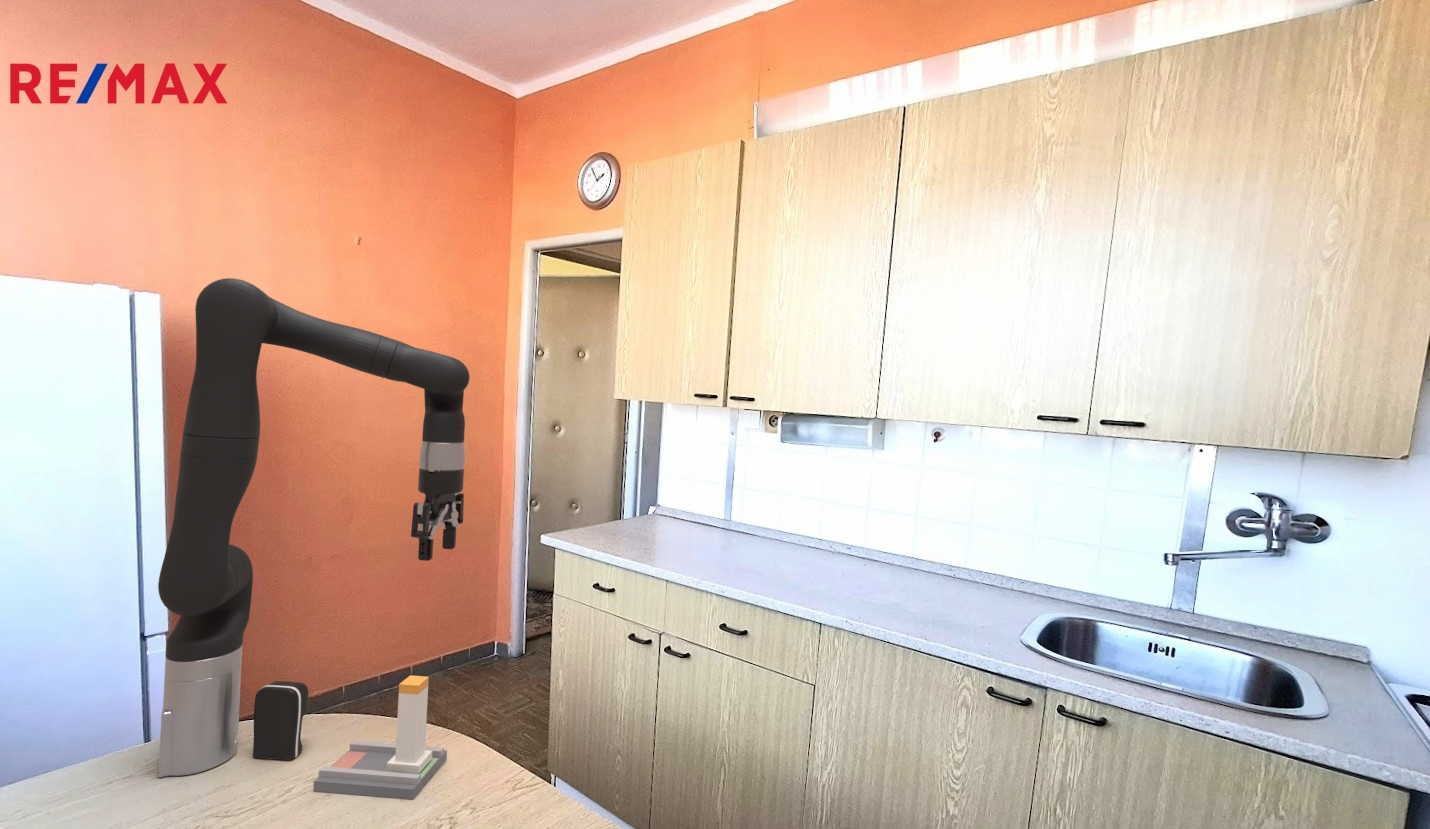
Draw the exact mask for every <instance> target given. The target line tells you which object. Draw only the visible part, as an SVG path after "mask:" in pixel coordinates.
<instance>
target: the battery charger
mask: <svg viewBox="0 0 1430 829" xmlns="http://www.w3.org/2000/svg"><path fill="white" fill-rule="evenodd" d="M309 692H310V691H309V687H308V685H306V684H305V683H304V682H298V681H289V680H277V681H272V682H270V683H268V684H267V685H264V686H262V687H261V688H260V689H259V690H257V692H256V694H255V698H254V706H253V707H254V708H253V743H252V744H253V746H252V748H253V749H252V757H253V758H258V759H266V760H282V761H283V760H285V761H286V760H293V759H296V758H297V757H298V755H299V754H301V752H302V751H303V744H302V741H301V737H302V736H301V733H302V725H303V718H304V716H306V715H307V714H308V712H309V703H310V702H309V701H310V700H309V698H310V697H309V695H310V694H309Z"/></svg>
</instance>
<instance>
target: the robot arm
mask: <svg viewBox="0 0 1430 829" xmlns="http://www.w3.org/2000/svg"><path fill="white" fill-rule="evenodd" d="M194 309H195V346H196V347H195V348H196V350H195V354H196V355H195V366H194V373H193V374H194V375H193V378H192V379H193V380H192V382H191V388H190V392H189V397H188V402H187V407H186V414H185V419H184V424H183V431H182V438H181V439H182V440H181V447H180V456H179V467H178V478H177V484H176V485H177V486H176V493H175V502H174V513H173V520H172V526H171V529H170V534H169V538H168V542H167V544H166V545H167V546H166V550H165V553H164V557H163V561H162V563H161V568H160V571H159V578H158V584H157V588H158V595H159V598H160V600H161V603H162V604H163V605H164V607H165V608H166V609H167V610H168V611H170V612H171V613H173V614H175V615H179V619H178V621H177V624H176V625H175V627H174V629H173V630H172V632H171V633H170V635H169V636H168V638H167V640H166V644H165V658H164V659H165V661H164V662H165V663H164V680H163V681H164V683H163V699H162V703H163V704H162V710H161V716H160V719H161V720H160V735H159V736H160V737H159V738H160V739H159V752H158V753H159V754H158V755H159V758H158V773H157V774H158V776H157V777H158V778H163V777H168V776H172V777H174V776H176V777H177V776H178V777H179V776H186V775H187V776H188V775H194V774H197V773H201V772H204V771H208V770H210V769H213V768H215V767H218V766H220V765H221V764H224V763H226V762H227V761H228V760H230V759H231V758H232V757H234V755H235V754H236V753H237V752H238V744H239V743H238V741H239V718H240V702H241V699H240V698H241V682H242V680H241V679H242V663H243V662H242V660H243V642H244V633H245V631H246V629H247V627H248V623H249V620H250V616H251V615H250V613H251V604H252V595H253V584H254V583H253V582H254V570H253V564H252V562H251V559H250V557H249V555H248V554H247V553H246V551H245V550H243V549H242V548H240V547H238V546H236V545H234V544H230V538H231V531H232V526H233V522H234V518H235V516H236V512H237V510H238V508H239V506H240V504H241V502H242V499H243V498H244V496H245V493H246V491H247V489H248V487H249V485H250V483H251V481H252V477H253V475H254V472H255V470H256V464H257V460H258V453H259V452H258V451H259V446H260V436H261V414H260V411H261V410H260V400H259V393H258V382H257V378H258V377H257V372H258V365H259V359H260V355H261V350H262V346H263V344H265V345H272V346H278V347H284V348H288V349H290V350H291V349H292V350H296V351H300V352H304V353H307V354H311V355H313V356H317V357H319V358H323V359H325V360H328V361H331V362H334V363H337V364H339V365H342V366H345V367H347V368H350V369H353V370H356V371H359V372H363V373H366V374H369V375H372V376H374V377H375V376H376V377H379V378H382V379H385V380H389V381H393V382H399V383H400V382H401V383H406V384H408V385H411V386H414V387H418V388H421V389H424V397H423V398H424V416H423V422H422V423H423V424H422V435H421V436H422V437H421V438H422V439H421V440H422V441H421V446H420V447H421V448H420V452H419V461H418V462H419V463H418V464H419V466H418V481H417V482H418V484H417V491H418V492H419V493H421V494H424V495H425V498H424V501H423V502H414V503H413V507H412V508H413V509H412V510H413V511H412V519H411V533H410V537H411V538H416V539H418V551H417V552H418V556H417V559H418V560H420V561H424V562H425V561H427V562H428V561H431V560H433V556H434V555H433V552H434V539H433V538H434V536H435V533H436V531H437V529H440V527H441V525H442V527H443V529H442V530H443V531H442V545H441V546H442V549H444V550H453V549H455V548H456V543H457V542H456V541H457V529H459V525H462V524H463V522H464V510H465V509H464V507H465V506H464V504H465V503H464V500H465V495H464V493H462V492H463V491H464V477H465V476H464V475H465V474H464V473H465V458H466V457H465V456H466V455H465V454H466V450H465V429H466V421H465V415H464V410H463V408H464V396H465V395H464V393H465V390H466V388H467V387H468V386H469V383H470V372H469V370H468V368H467V366H466V365H465V363H463V362H462V361H461V360H459V359H457V358H455V357H452V356H449V355H446V354H442V353H439V352H435V351H431V350H427V349H424V348H420V347H419V348H418V347H415V346H412V345H410V344H407V343H406V342H403V341H399V340H397V339H394V338H391V337H388V336H384V335H382V334H380V333H379V334H378V333H376V332H373V331H368V330H367V329H366V330H365V329H362V328H357V327H354V326H350V325H345V324H341V323H337V322H333V321H329V320H326V319H322V318H319V317H317V316H313V315H310V314H308V313H305V312H303V311H299V310H298V309H295V308H292V307H291V306H290V305H286V304H285V303H283V302H280V301H278V300H276V299H274V298H272V297H270V296H269V295H268V294H267V293H265V292H264V291H263V290H261V288H259V287H258V286H256V285H254V284H252V283H251V282H249V281H246V280H244V279H239V278H233V277H232V278H231V277H228V278H227V277H226V278H221V279H217V280H214V281H212V282H211V283H209V284H208V285H206V286H205V287H204V288H202V290H201V291H200V292H199V294H198V296H197V297H196V302H195V308H194Z"/></svg>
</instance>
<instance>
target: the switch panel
mask: <svg viewBox="0 0 1430 829" xmlns="http://www.w3.org/2000/svg"><path fill="white" fill-rule="evenodd" d="M425 750H429V751H433V753H432V759H431V760H430V761H429V762H428V764H427V765H426V766H425V767H424V768H423V769H422V770H421V772H420V773H419V774H416V773H404V772H391V771H386V768H387V762H388V761H389V760H390V759H391V758H392V757H393V756H395V754H396V743H389V742H388V743H387V742H375V741H365V740H364V741H363V740H352V741H351V743H349V750H347V751H346V753H345V754H343V755H342V756H341V757H340V758H339V759H338V760H336V762H334V763H332V764H331V766H322V767H321V768H319V770H318V777H317V778H315V779H314V780H313V789H312V791H313V792H319V793H329V792H330V793H332V794H340V793H342V794H341V795H353V796H354V795H355V796H364V797H365V796H366V797H379V798H388V799H389V798H391V799H400V800H414V799H415V798H416V796H418V794H419V793H420V791H422V790H423V788H424V787H426V785H427V783H428V782H429V781H430V780H431V779H432V778H433V776H434V775H435V774H436V773H437V771H438V770H439V769H440V768H441V767H442V766H443V765H444V763H445V762H446V761H447V758H448V757H447V756H448V754H447V753H448V750H445V747H440V746H438V747H436V746H427V745H425Z"/></svg>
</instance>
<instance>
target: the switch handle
mask: <svg viewBox="0 0 1430 829" xmlns="http://www.w3.org/2000/svg"><path fill="white" fill-rule="evenodd" d="M429 679H430V678H429V676H423V675H422V676H421V675H409V676H408V677H406V678H405V679H404V680H403V681H401V682H400V683H399V685H398V700H397V701H398V703H397V718H396V719H397V720H396V738H395V740H396V741H395V744H396V754H395V756H393V757H392V758H391V759H390V760H389V761H388V762H387V768H386V771H391V772H404V773H416V774H419V773H420V772H421V770H422V769H423V768H424V767H425V766H426V765H427V764H428V762H429V761H430V760H431V759H432V753H433V751H429V750H425V746H426V738H427V737H426V736H427V735H426V734H427V719H428V718H427V715H428V702H429V701H428V699H429V698H428V697H429V696H428V694H429V683H430V682H429V681H430V680H429Z"/></svg>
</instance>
